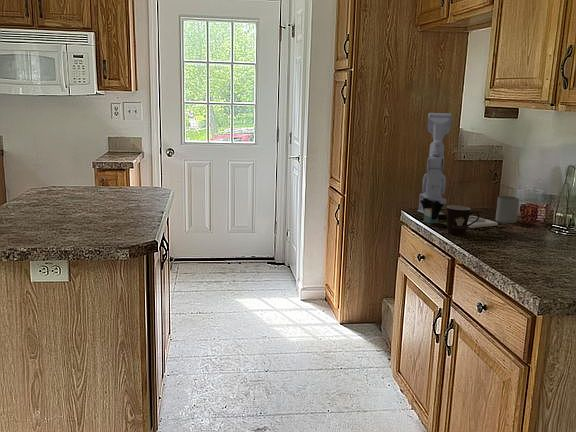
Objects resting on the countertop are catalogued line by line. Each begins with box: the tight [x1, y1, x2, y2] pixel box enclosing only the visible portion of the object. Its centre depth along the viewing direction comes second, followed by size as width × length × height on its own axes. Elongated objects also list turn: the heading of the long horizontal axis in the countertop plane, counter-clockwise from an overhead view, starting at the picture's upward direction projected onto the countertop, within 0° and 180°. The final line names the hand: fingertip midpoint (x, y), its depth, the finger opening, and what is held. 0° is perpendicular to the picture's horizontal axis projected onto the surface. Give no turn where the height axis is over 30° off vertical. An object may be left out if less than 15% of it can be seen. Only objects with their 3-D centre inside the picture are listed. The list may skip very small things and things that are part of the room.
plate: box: [467, 215, 498, 229], centre depth 234 cm, size 14×14×2 cm
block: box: [423, 208, 439, 224], centre depth 233 cm, size 4×4×6 cm
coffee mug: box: [446, 205, 480, 237], centre depth 213 cm, size 12×9×10 cm
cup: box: [495, 195, 520, 224], centre depth 240 cm, size 8×8×10 cm
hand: (430, 218), depth 233 cm, fingers open, 4 cm apart
